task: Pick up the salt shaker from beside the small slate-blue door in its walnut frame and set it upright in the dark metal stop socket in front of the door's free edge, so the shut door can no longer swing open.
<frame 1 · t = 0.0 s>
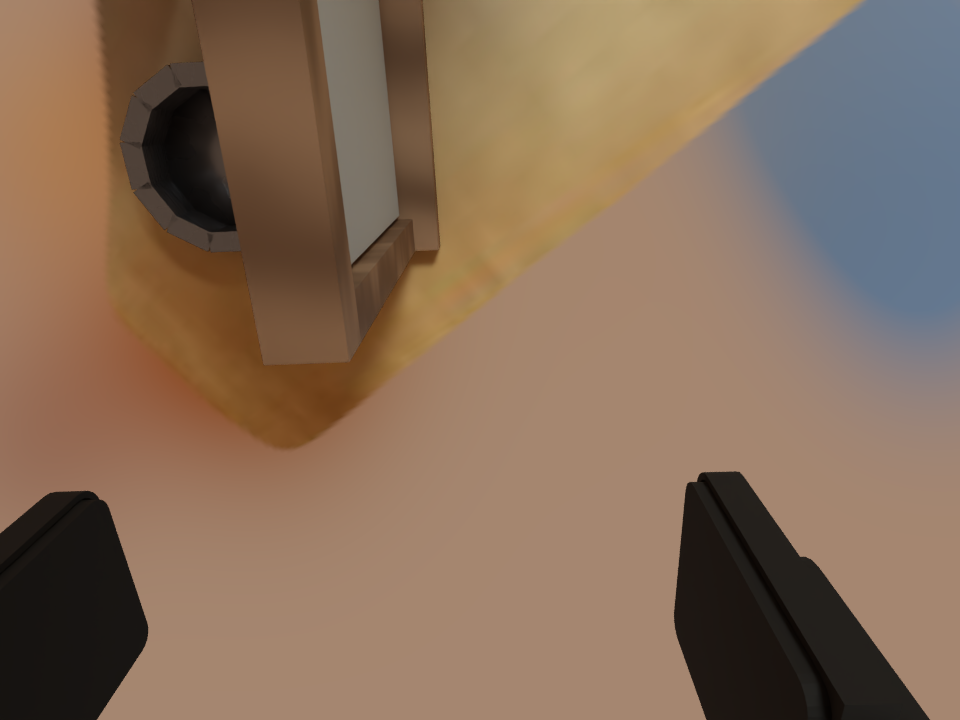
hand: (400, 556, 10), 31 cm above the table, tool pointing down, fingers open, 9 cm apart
stop socket: (233, 159, 37), on the table
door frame: (373, 42, 35), on the table
door: (317, 22, 26), point 10 cm above the table, hinge at 0.0°
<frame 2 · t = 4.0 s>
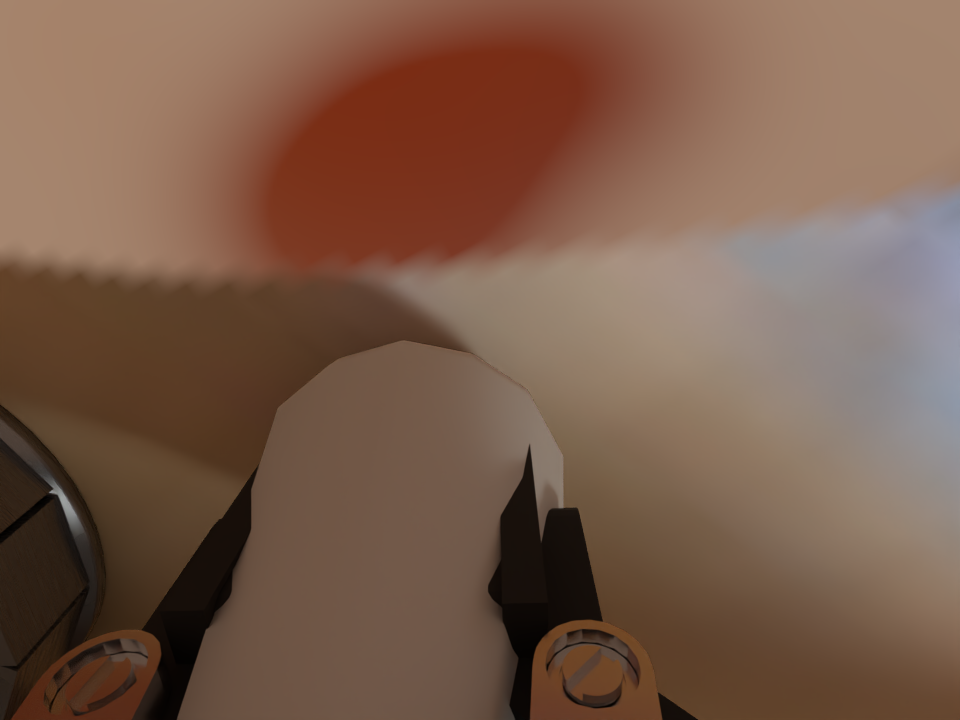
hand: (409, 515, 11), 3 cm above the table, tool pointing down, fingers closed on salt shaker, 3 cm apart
salt shaker: (427, 424, 14), on the table, touching gripper
when the fingers open (6 cm above the table, at t = 10.1 s): salt shaker drops 3 cm, resting on stop socket.
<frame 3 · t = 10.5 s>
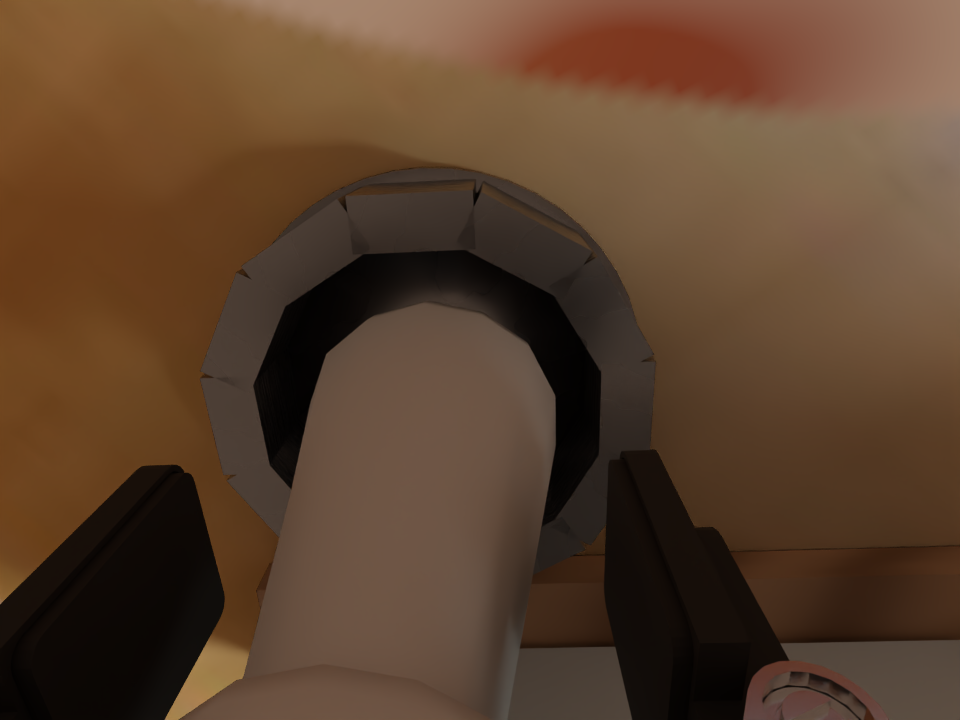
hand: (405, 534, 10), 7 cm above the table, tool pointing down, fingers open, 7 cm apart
stop socket: (439, 372, 17), on the table
salt shaker: (444, 377, 17), resting on stop socket
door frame: (638, 626, 20), on the table
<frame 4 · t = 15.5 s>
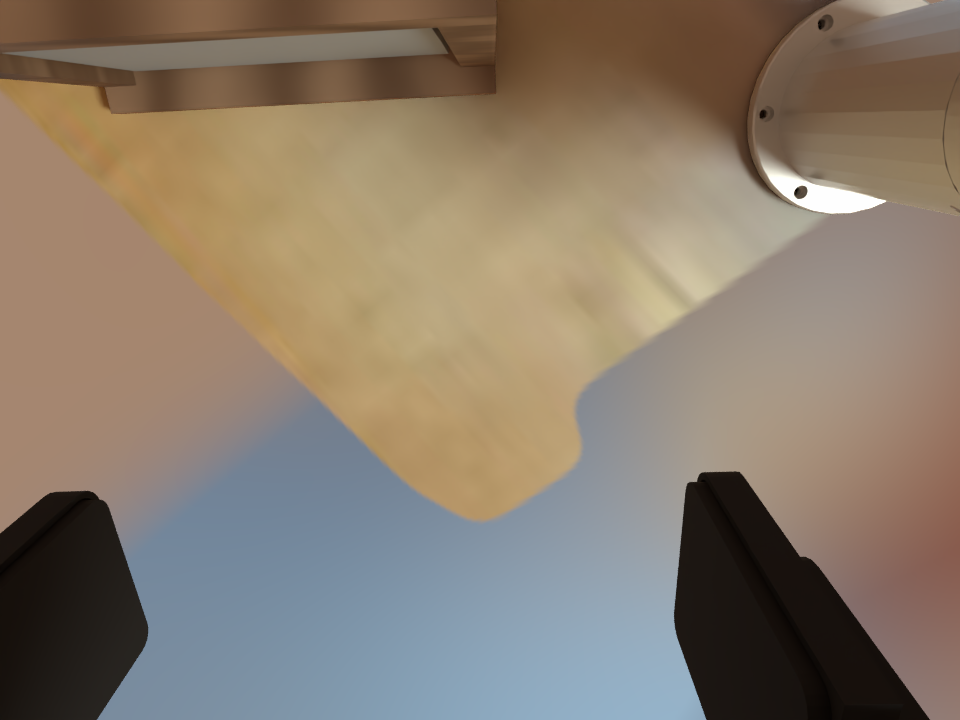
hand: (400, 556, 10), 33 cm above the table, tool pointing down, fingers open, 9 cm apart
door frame: (299, 50, 37), on the table
door: (231, 11, 28), point 9 cm above the table, hinge at 0.0°
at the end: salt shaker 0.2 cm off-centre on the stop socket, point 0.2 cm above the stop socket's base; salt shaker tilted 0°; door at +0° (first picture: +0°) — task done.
